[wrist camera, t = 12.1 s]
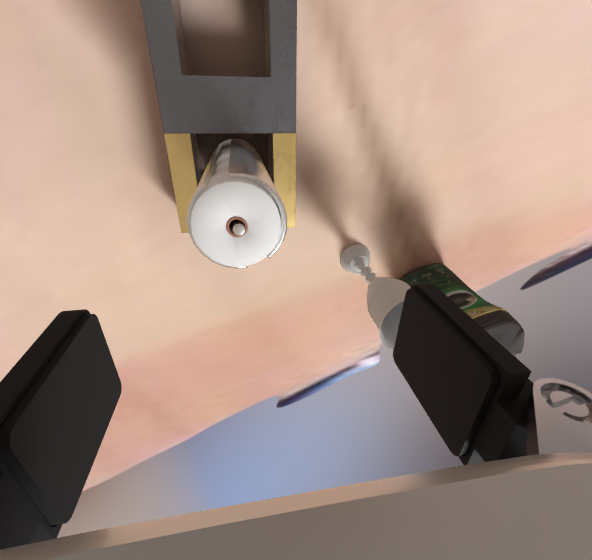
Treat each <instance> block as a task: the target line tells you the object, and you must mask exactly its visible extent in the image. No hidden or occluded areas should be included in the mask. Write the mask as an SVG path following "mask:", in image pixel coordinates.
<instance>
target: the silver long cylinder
mask: <svg viewBox="0 0 592 560" xmlns="http://www.w3.org/2000/svg"><path fill="white" fill-rule="evenodd" d="M187 225H188V232H189V234H190V236H191V239H192V241H193V243H194V245H195V246H196V247H197V248H198V250H199V251H200V252H201V253H202V254H203V255H204V256H206V257H207V258H208V259H210V260H211V261H212V262H215V263H217V264H219V265H222V266H225V267H230V268H248V267H247V266H248V265H251V264H255V263H257V262H259V261H260V260H262V259H263V258H265V257H266V256H268V257H269V258H270V257H271V256H272V255H273V254H274V253H275V252H276V251H277V250H278V249H279V247H280V245H281V244H282V242H283V240H284V237H285V234H286V230H287V214H286V210H285V206H284V203H283V201H282V199H281V197H280V195H279V193H278V191H277V190H276V188H275V186H274V184H273V182H272V180H271V178H270V176H269V174H268V172H267V170H266V168H265V166H264V164H263V162H262V160H261V158H260V157H259V155H258V153H257V151H256V149H255V148H254V147H253V146H252V145H251V144H249V143H248V142H246V141H244V140H240V139H228V140H225V141H223V142H222V143H220V144H219V145H218V146H217V147H216V148H215V149H214V152H213V154H212V156H211V158H210V160H209V162H208V165H207V167H206V169H205V171H204V173H203V175H202V178H201V180H200V182H199V184H198V186H197V188H196V191H195V193H194V195H193V197H192V199H191V201H190V204H189V206H188V212H187Z"/></svg>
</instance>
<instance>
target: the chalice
mask: <svg viewBox="0 0 592 560" xmlns="http://www.w3.org/2000/svg"><path fill="white" fill-rule="evenodd" d="M340 262H341V266H342V268H343V269H344V270H346V271H348V272H352V273H357V274H358V273H361V276H362V277H366V282H368V283H369V286H368V292H367V304H368V311H369V314H370V316H371V317H372V319H373V321H374V322H375V324H376V325H377V327H378V328H379V330H380V338H381V340H382V342H383V343H384V344H385V345H386V346H387V347H389V348H392V349H394V346H395V341H396V336H397V331H398V327H399V322H400V317H401V313H402V308H403V303H404V299H405V294H406V291H407V290H408V289H410V288H411V287H410V286H409V285H408V284H407V283H406V282H403V281H401V280H398V279H394V278H389V277H376V274H375V273H371V272H372V269H371V268H370V267H369V264H370V252H369V250H368V248H367V247H366V246H364V245H362V244H354V245H351V246H349V247H347V248H346V249H345V250H344V251H343V253H342V255H341V259H340Z"/></svg>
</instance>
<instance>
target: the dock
mask: <svg viewBox="0 0 592 560" xmlns="http://www.w3.org/2000/svg"><path fill="white" fill-rule="evenodd" d="M141 4H142V10H143V15H144V21H145V27H146V32H147V38H148V44H149V49H150V55H151V61H152V66H153V72H154V78H155V83H156V89H157V95H158V100H159V106H160V112H161V117H162V123H163V129H164V137H165V142H166V148H167V154H168V159H169V165H170V171H171V176H172V182H173V188H174V193H175V199H176V205H177V210H178V216H179V222H180V227H181V233H189V232H188V225H187V212H188V206H189V204H190V201H191V199H192V197H193V195H194V193H195V191H196V188H197V186H198V184H199V182H200V180H201V178H202V172H201V164H200V156H199V149H198V141H197V134H196V133H268V156H269V176H270V178H271V180H272V182H273V184H274V186H275V188H276V190H277V191H278V193H279V195H280V197H281V199H282V201H283V203H284V206H285V210H286V214H287V228H290V227H295V222H296V42H297V0H264V31H265V62H266V77H241V76H201V75H189V73H188V65H187V57H186V50H185V42H184V35H183V27H182V19H181V12H180V4H179V0H141Z"/></svg>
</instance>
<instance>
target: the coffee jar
mask: <svg viewBox="0 0 592 560" xmlns="http://www.w3.org/2000/svg"><path fill="white" fill-rule="evenodd" d="M401 281H403V282H406V283H407V284H408V285H409V286H410V287H411V286H412V285H413V284H421V283H432V284H434V285H435V286H436V287H437V288H439V289H440V290H441V291H442V292H443V293H444V294H445V295H446V296H447V297H449V298H450V299H451V300H452V301H453V302H454V303H455V304H456V305H458V306H459V307H460V308H461V309H462V310H463V311H464V312H465V313H466V314H468V315H469V316H470V317H471V318H472V319H473V320H474V321H475V322H477V323H478V324H479V325H480V326H481V327H482V328H483V329H484V330H486V331H487V332H488V333H489V334H490V335H491V336H492V337H493V338H494V339H496V340H497V341H498V342H499V343H500V344H501V345H502V346H503V347H505V348H506V349H507V350H508V351H509V352H510V353H511V354H512V355H513V356H514V355H516V354H518V353H521V352H522V350H523V345H524V330H523V328H522V327H521V325H520V324H519V323H518V322H517V321H516V320H515V319H514V318H513V317H512V316H511V315H510V314H509V313H508V312H507V311H506V310H504V309H502V308H500V307H497V306H495V305H492V304H490V303H489V302H487V301H485V300H484V299H483V298H481V297H480V296H478V295H477V294H476V293H475V292H474V291H473V290H471V289H470V288H469V287H468V286H467V285H466V284H465V283H464V282H463V281H462V280H460V279H459V278H458V277H457V276H456V275H455V274H454V273H453V272H452V271H451V270H450V269H448V268H447V267H446V266H445V265H443V264H432V265H428V266H425V267H422V268H420V269H417V270H415V271H413V272H411V273H409V274H407V275H405V276H404V277H403V278H402V279H401Z"/></svg>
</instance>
